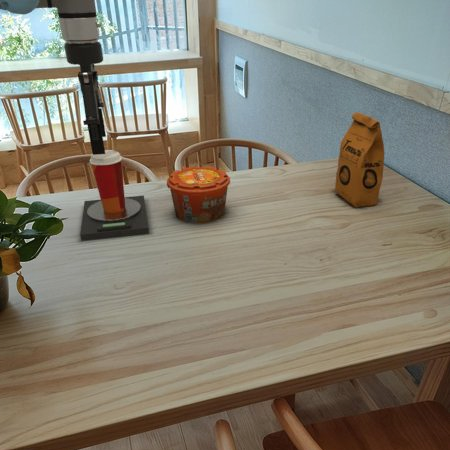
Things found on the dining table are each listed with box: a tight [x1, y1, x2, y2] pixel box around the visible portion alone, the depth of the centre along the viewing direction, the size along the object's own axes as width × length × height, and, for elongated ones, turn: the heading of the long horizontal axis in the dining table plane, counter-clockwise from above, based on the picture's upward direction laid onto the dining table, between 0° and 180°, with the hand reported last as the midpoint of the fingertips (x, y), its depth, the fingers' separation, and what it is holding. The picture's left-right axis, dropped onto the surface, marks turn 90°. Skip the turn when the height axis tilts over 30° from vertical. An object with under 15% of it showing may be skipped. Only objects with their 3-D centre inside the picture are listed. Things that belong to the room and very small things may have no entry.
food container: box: [166, 165, 231, 224], centre depth 115 cm, size 16×16×11 cm
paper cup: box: [89, 149, 126, 213], centre depth 111 cm, size 8×8×14 cm
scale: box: [79, 195, 150, 242], centre depth 115 cm, size 16×20×3 cm
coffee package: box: [334, 111, 385, 208], centre depth 119 cm, size 10×12×22 cm
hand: (99, 145), depth 105 cm, fingers open, 13 cm apart
